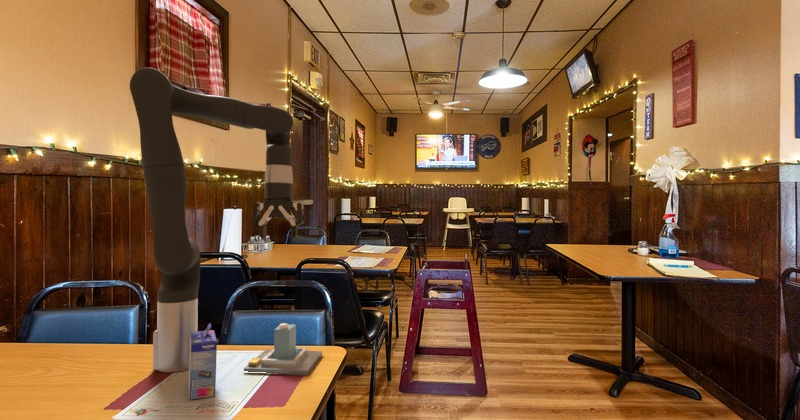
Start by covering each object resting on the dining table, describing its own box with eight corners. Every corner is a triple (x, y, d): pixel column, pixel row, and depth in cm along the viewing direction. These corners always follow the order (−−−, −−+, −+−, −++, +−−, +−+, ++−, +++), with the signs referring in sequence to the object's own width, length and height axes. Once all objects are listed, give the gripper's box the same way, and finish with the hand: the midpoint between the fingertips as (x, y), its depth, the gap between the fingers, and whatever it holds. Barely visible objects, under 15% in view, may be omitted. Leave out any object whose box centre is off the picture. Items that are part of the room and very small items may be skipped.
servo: (273, 362, 107) (274, 325, 107) (281, 355, 112) (281, 320, 112) (289, 363, 107) (289, 326, 107) (295, 356, 112) (295, 320, 112)
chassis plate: (243, 373, 103) (243, 362, 103) (266, 353, 117) (266, 344, 117) (307, 375, 102) (307, 364, 102) (322, 355, 116) (322, 345, 116)
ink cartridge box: (217, 396, 90) (217, 329, 90) (188, 401, 88) (189, 333, 88) (214, 379, 99) (214, 319, 99) (188, 384, 96) (188, 321, 96)
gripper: (248, 181, 114) (248, 240, 114) (299, 181, 113) (299, 240, 113) (259, 182, 122) (259, 238, 122) (307, 182, 121) (307, 238, 121)
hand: (278, 239), depth 118 cm, fingers open, 8 cm apart
